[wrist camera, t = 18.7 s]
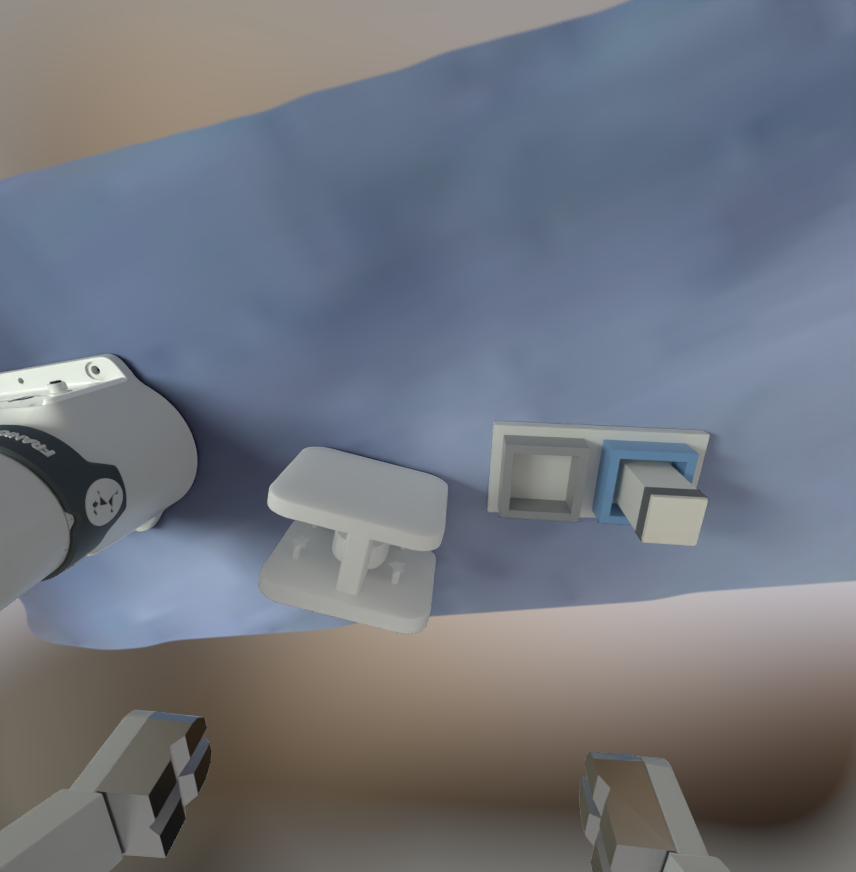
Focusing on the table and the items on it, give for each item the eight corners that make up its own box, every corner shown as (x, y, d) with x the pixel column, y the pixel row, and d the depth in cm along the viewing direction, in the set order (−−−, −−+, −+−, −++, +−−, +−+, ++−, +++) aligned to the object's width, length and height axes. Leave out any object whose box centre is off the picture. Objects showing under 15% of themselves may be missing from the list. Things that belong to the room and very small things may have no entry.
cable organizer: (458, 476, 45) (456, 542, 34) (432, 562, 49) (422, 647, 38) (310, 438, 45) (261, 492, 34) (295, 528, 48) (246, 602, 37)
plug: (611, 495, 43) (642, 543, 35) (618, 455, 42) (652, 496, 34) (655, 498, 43) (696, 546, 35) (664, 457, 41) (709, 499, 34)
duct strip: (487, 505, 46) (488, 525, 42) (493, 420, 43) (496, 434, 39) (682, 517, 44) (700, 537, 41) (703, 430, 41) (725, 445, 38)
